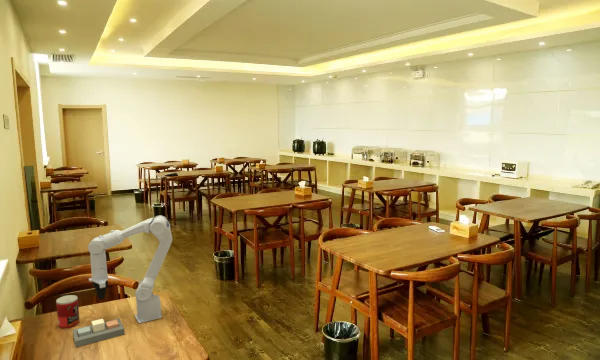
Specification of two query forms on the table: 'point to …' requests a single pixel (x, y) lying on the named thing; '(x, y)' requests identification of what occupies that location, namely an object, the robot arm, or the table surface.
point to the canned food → (67, 311)
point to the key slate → (84, 331)
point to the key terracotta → (112, 324)
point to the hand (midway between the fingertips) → (101, 298)
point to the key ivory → (98, 325)
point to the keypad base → (98, 334)
